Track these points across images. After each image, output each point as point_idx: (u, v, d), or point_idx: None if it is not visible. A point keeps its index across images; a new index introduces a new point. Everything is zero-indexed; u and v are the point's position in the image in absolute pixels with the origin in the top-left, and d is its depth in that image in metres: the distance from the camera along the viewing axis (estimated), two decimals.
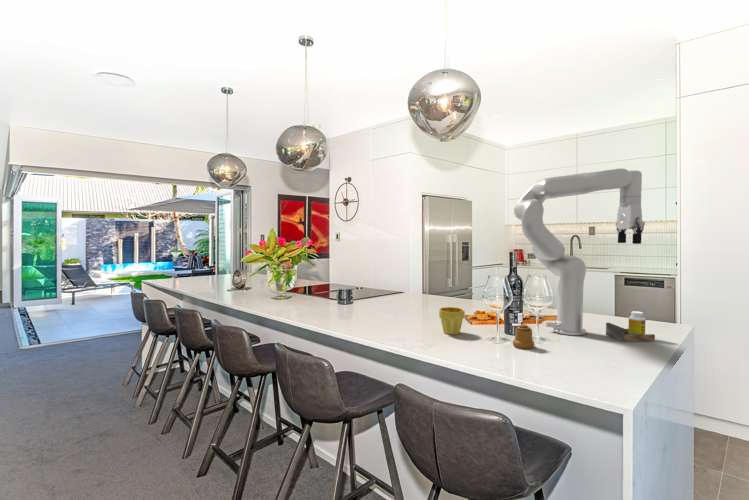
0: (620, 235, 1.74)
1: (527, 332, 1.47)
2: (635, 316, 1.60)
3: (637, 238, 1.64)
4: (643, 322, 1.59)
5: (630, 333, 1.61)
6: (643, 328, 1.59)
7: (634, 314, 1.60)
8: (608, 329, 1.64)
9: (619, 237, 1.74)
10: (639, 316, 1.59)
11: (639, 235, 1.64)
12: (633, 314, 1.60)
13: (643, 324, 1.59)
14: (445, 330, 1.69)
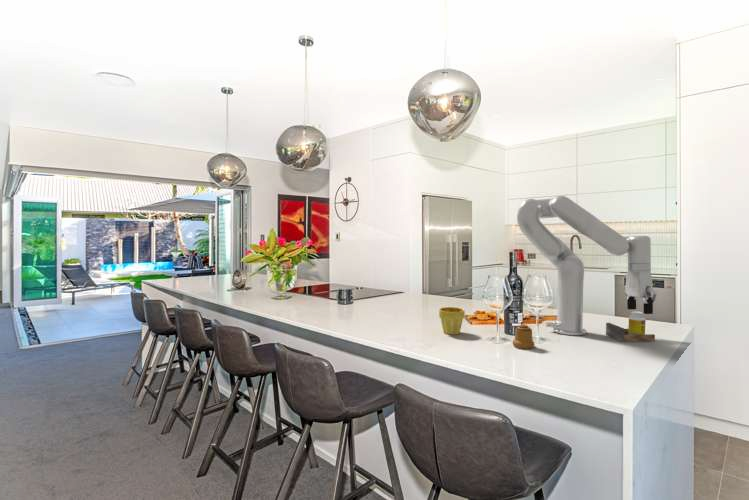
0: (630, 301, 1.65)
1: (527, 332, 1.47)
2: (635, 316, 1.60)
3: (648, 308, 1.55)
4: (643, 322, 1.59)
5: (630, 333, 1.61)
6: (643, 328, 1.59)
7: (634, 314, 1.60)
8: (608, 329, 1.64)
9: (629, 303, 1.65)
10: (639, 316, 1.59)
11: (650, 305, 1.55)
12: (633, 314, 1.60)
13: (643, 324, 1.59)
14: (445, 330, 1.69)
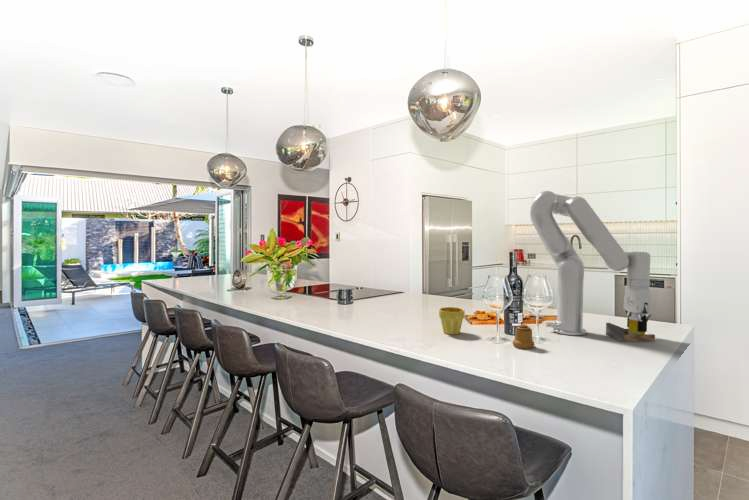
0: None
1: (527, 332, 1.47)
2: (635, 316, 1.60)
3: (642, 326, 1.57)
4: None
5: (630, 333, 1.61)
6: None
7: (634, 314, 1.60)
8: (608, 329, 1.64)
9: None
10: None
11: (645, 323, 1.57)
12: (633, 314, 1.60)
13: None
14: (445, 330, 1.69)
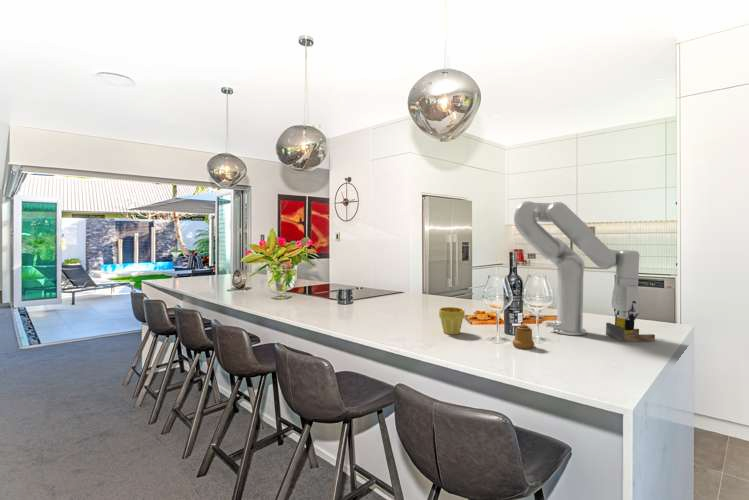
0: None
1: (527, 332, 1.47)
2: (623, 314, 1.60)
3: (630, 325, 1.57)
4: None
5: None
6: None
7: (622, 312, 1.60)
8: (608, 329, 1.64)
9: None
10: None
11: (632, 322, 1.57)
12: (621, 312, 1.61)
13: None
14: (445, 330, 1.69)
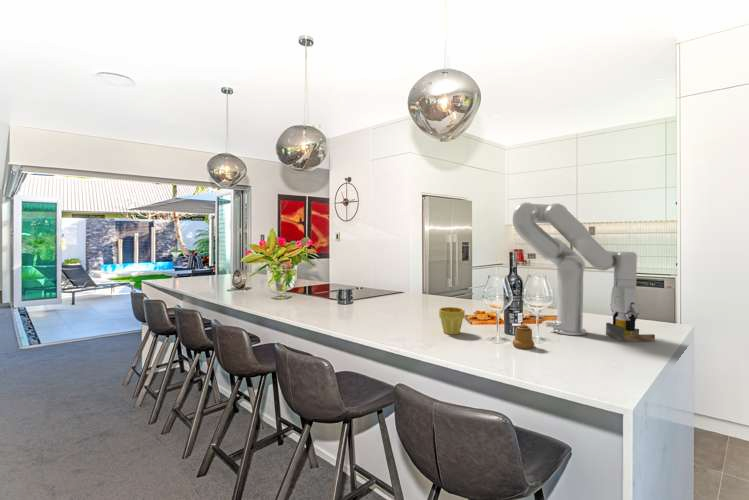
0: (615, 318, 1.65)
1: (527, 332, 1.47)
2: (622, 316, 1.60)
3: (631, 325, 1.56)
4: None
5: None
6: None
7: (621, 314, 1.60)
8: (608, 329, 1.64)
9: (614, 320, 1.65)
10: None
11: (633, 322, 1.56)
12: (620, 314, 1.60)
13: None
14: (445, 330, 1.69)
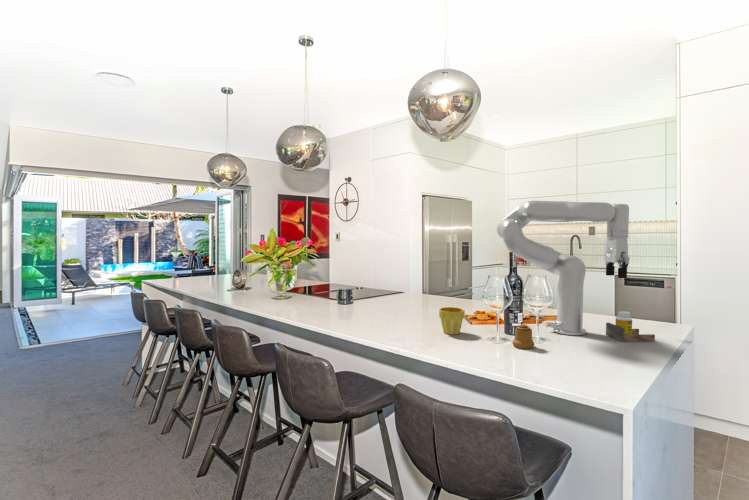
0: (608, 267, 1.73)
1: (527, 332, 1.47)
2: (622, 316, 1.60)
3: (622, 273, 1.62)
4: (630, 322, 1.59)
5: None
6: (630, 328, 1.59)
7: (621, 314, 1.60)
8: (608, 329, 1.64)
9: (607, 269, 1.73)
10: (626, 316, 1.59)
11: (624, 270, 1.62)
12: (620, 314, 1.60)
13: (630, 324, 1.59)
14: (445, 330, 1.69)
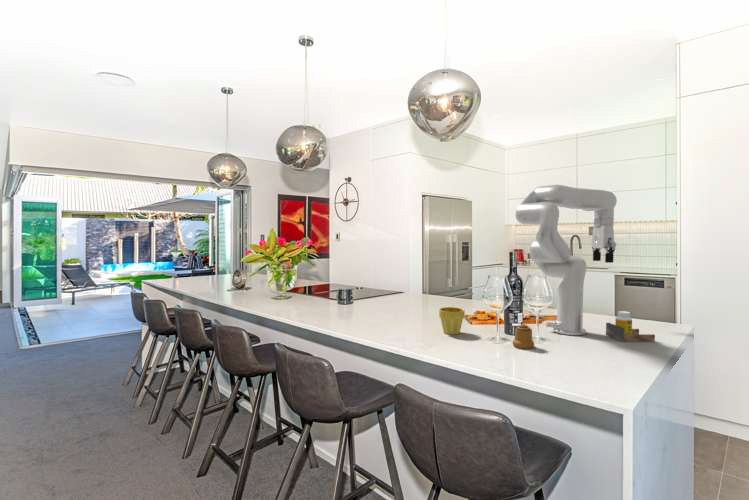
0: (595, 253, 1.86)
1: (527, 332, 1.47)
2: (622, 316, 1.60)
3: (609, 257, 1.76)
4: (630, 322, 1.59)
5: None
6: (630, 328, 1.59)
7: (621, 314, 1.60)
8: (608, 329, 1.64)
9: (594, 255, 1.87)
10: (626, 316, 1.59)
11: (611, 254, 1.76)
12: (620, 314, 1.60)
13: (630, 324, 1.59)
14: (445, 330, 1.69)
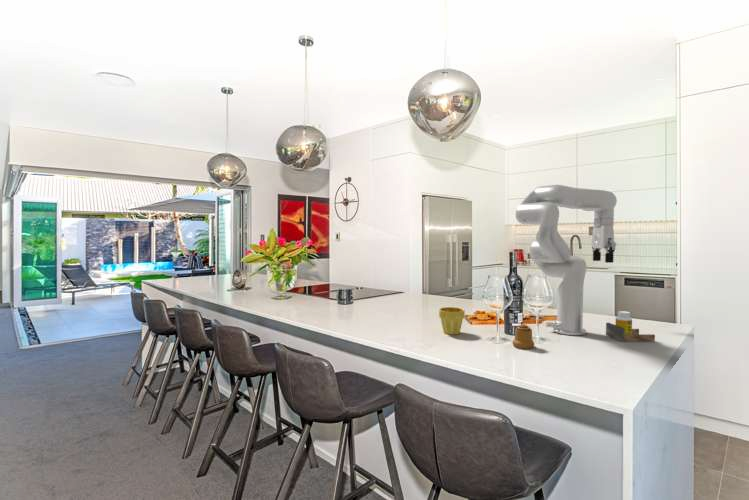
0: (595, 253, 1.86)
1: (527, 332, 1.47)
2: (622, 316, 1.60)
3: (609, 257, 1.76)
4: (630, 322, 1.59)
5: None
6: (630, 328, 1.59)
7: (621, 314, 1.60)
8: (608, 329, 1.64)
9: (594, 255, 1.87)
10: (626, 316, 1.59)
11: (611, 254, 1.76)
12: (620, 314, 1.60)
13: (630, 324, 1.59)
14: (445, 330, 1.69)
